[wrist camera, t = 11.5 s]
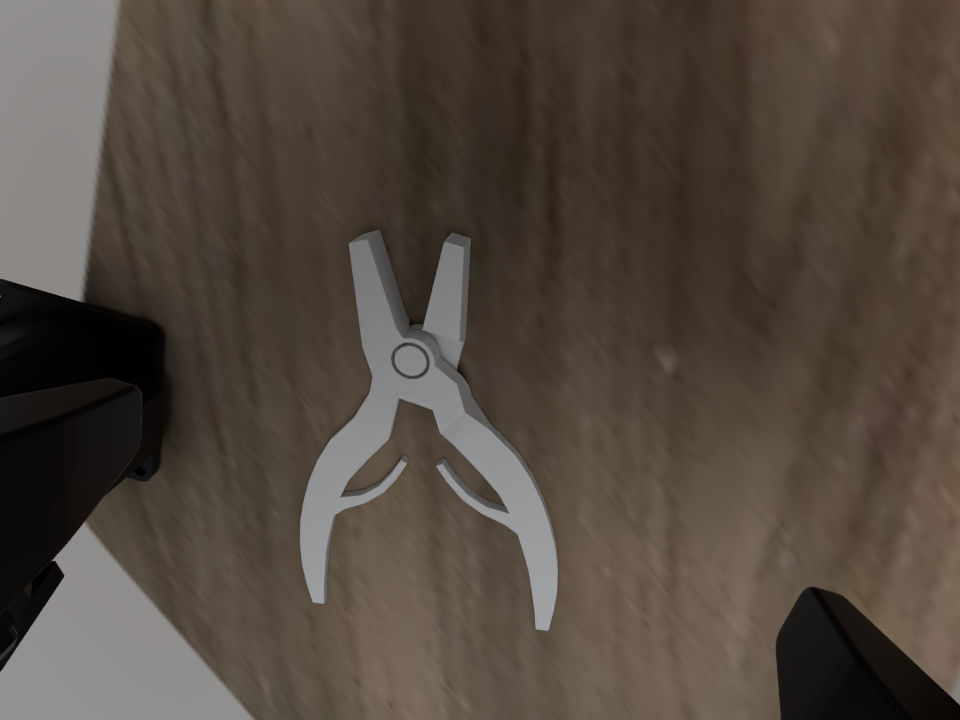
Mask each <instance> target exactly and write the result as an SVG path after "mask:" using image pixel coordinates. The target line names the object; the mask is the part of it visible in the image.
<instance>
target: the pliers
mask: <svg viewBox="0 0 960 720" xmlns="http://www.w3.org/2000/svg"><path fill="white" fill-rule="evenodd" d="M470 246H471V238H469V237H465V236H462V235H459V234H456V233H451V234H450V235H449V237H448V238H447V239H446V240H445V241H444V244H443V248H442V252H441V256H440V261H439V265H438V269H437V273H436V277H435V281H434V285H433V289H432V293H431V297H430V301H429V305H428V309H427V313H426V317H425V321H424V325H420V324H414V325H410V326H409V318H408V317H407V315H406V311H405V308H404V305H403V302H402V299H401V295H400V292H399V289H398V286H397V283H396V280H395V276H394V273H393V270H392V267H391V264H390V261H389V257H388V254H387V251H386V248H385V245H384V242H383V238H382V235H381V232H380V230H377V231H373V232H369V233H364V234H361V235H360V236H359V237H357V238H356V239H354V240H353V241H352V242H350V243H349V250H350V257H351V265H352V272H353V280H354V287H355V295H356V303H357V310H358V318H359V325H360V333H361V340H362V347H363V350H364V353H365V356H366V359H367V361H368V364H369V367H370V370H371V373H372V376H373V377H372V382H371V387H370V392H369V394H368V396H367V398H366V399H365V401H364V402H363V404H362V406H361V407H360V409H359V410H358V412H357V414H356V415H355V416H354V417H353V418H351V419H350V420H349V421H348V422H347V423H346V424H345V425H344V426H343V427H342V428H341V429H340V430H339V431H338V432H337V433H335V434H334V435H333V437H332V438H331V440H330V441H329V443H328V444H327V446H326V447H325V449H324V451H323V452H322V454H321V455H320V457H319V459H318V460H317V462H316V465H315V467H314V470H313V472H312V475H311V477H310V480H309V483H308V487H307V490H306V494H305V498H304V502H303V508H302V515H301V521H300V548H301V559H302V565H303V570H304V574H305V578H306V582H307V585H308V589H309V592H310V595H311V598H312V601H313V602H314V603H322V604H324V603H325V601H326V599H327V575H328V560H329V547H330V540H331V535H332V530H333V526H334V521H335V517H336V514H338V513H339V512H341V511H343V510H344V509H347V508H350V507H353V506H357V505H360V504H363V503H367V502H368V501H370V500H372V499H373V498H375V497H377V496H379V495H380V494H382V493H384V492H385V491H386V490H387V489H388V488H389V486H390V485H391V484H392V483H393V482H394V481H395V480H396V479H397V478H398V476H399V475H400V473H401V472H402V470H403V469H404V467H405V466H406V465H407V463H408V461H409V459H410V458H409V457H407V456H405V455H403V456H402V458H401V459H400V460H399V462H398V463H397V465H396V466H395V467H394V469H393V470H392V471H391V472H390V473H389V474H388V475H387V476H386V477H385V478H384V479H383V480H382V481H380V482H378V483H376V484H374V485H372V486H370V487H368V488H367V489H364V490H355V491H347V492H344V490H345V488H346V486H347V484H348V482H349V480H350V478H351V477H352V476H353V475H354V474H355V473H356V472H357V470H358V469H359V468H360V467H361V466H362V465H363V464H364V463H365V462H366V461H367V460H368V459H369V458H370V457H371V456H372V455H373V454H374V453H375V452H376V451H377V450H378V449H379V448H380V447H381V446H382V445H383V444H384V443H385V442H386V441H387V440H388V439H389V438H390V436H391V434H392V431H393V427H394V423H395V419H396V415H397V411H398V406H399V402H400V399H403V400H406V401H408V402H411V403H414V404H417V405H420V406H423V407H425V408H428V409H431V410H433V412H434V415H435V419H436V422H437V425H438V428H439V431H440V434H442V435H443V436H444V437H445V438H446V439H447V440H449V441H450V442H451V443H452V444H453V445H454V446H455V447H456V448H457V449H458V450H459V451H460V452H461V453H462V454H463V455H464V456H465V457H466V458H467V459H468V461H469V462H470V463H471V464H472V465H473V466H474V467H475V468H476V469H477V470H478V471H479V472H480V473H481V474H482V475H483V476H484V478H485V479H486V480H487V481H488V482H489V483H490V484H491V486H492V487H493V488H494V489H495V490H496V491H497V492H498V494H499V495H500V497H501V499H502V501H503V503H504V504H505V506H503V505H500V504H496V503H493V502H489V501H487V500H485V499H484V498H482V497H481V496H479V495H478V494H476V493H475V492H473V491H472V490H470V489H469V488H468V487H467V486H466V485H465V484H464V482H463V481H462V480H461V479H460V478H459V477H458V476H457V475H456V474H455V472H454V471H453V469H452V468H451V467H450V465H449V464H448V462H447V461H446V460H445V458H444V459H441V460H438V463H437V465H436V467H437V468H438V470H439V471H440V472H441V474H442V475H443V477H444V478H445V480H446V481H447V483H448V484H449V485H450V486H451V487H452V488H453V490H454V491H455V492H456V493H457V494H458V495H459V496H460V498H461V499H462V500H464V501H465V502H466V503H468V504H469V505H470V506H472V507H473V508H474V509H476V510H477V511H479V512H480V513H481V514H483V515H485V516H487V517H490V518H492V519H494V520H496V521H498V522H500V523H502V524H505V525H506V526H507V527H509V528H510V529H511V530H513V531H514V532H515V533H517V534H518V537H519V540H520V543H521V546H522V549H523V552H524V556H525V559H526V563H527V567H528V570H529V576H530V582H531V589H532V596H533V603H534V611H535V624H536V629H539V630H547V631H548V630H549V626H550V623H551V619H552V615H553V612H554V606H555V601H556V595H557V588H558V557H557V546H556V539H555V535H554V531H553V527H552V523H551V519H550V516H549V513H548V510H547V507H546V504H545V501H544V498H543V495H542V493H541V491H540V489H539V487H538V485H537V483H536V480H535V478H534V476H533V474H532V472H531V471H530V469H529V468H528V466H527V465H526V463H525V462H524V460H523V459H522V457H521V456H520V454H519V453H518V451H517V450H516V449H515V448H514V447H513V446H512V445H511V444H510V443H509V442H508V441H507V440H506V439H505V438H504V437H503V436H502V435H501V434H500V433H499V432H498V431H497V430H496V429H495V428H494V427H493V426H492V425H491V424H490V423H489V421H488V420H487V418H486V417H485V415H484V414H483V412H482V411H481V409H480V408H479V406H478V404H477V403H476V401H475V400H474V398H473V397H472V395H471V391H470V388H469V385H468V383H467V382H466V381H465V379H464V378H463V377H462V375H461V374H459V373H458V372H457V367H458V364H459V360H460V356H461V353H462V349H463V346H464V342H465V339H466V323H467V304H468V285H469V265H470Z"/></svg>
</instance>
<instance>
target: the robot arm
mask: <svg viewBox="0 0 960 720" xmlns="http://www.w3.org/2000/svg"><path fill="white" fill-rule="evenodd" d="M0 296H1V297H0V671H1V670H2V669H3V667H4V666H5V664H6V663H7V661H8V660H9V658H10V657H11V655H12V654H13V652H14V651H15V649H16V648H17V647H18V645H19V643H20V642H21V641H22V639H23V638H24V636H25V635H26V633H27V632H28V630H29V629H30V627H31V625H32V624H33V623H34V621H35V620H36V618H37V616H38V615H39V614H40V612H41V611H42V609H43V607H44V606H45V605H46V603H47V602H48V600H49V598H50V597H51V596H52V594H53V593H54V591H55V590H56V588H57V587H58V585H59V584H60V582H61V580H62V579H63V578H64V574H63V572H62V571H61V569H60V568H59V566H58V565H57V563H56V561H52V560H53V559H54V557H55V556H56V555H57V554H58V553H59V552H60V551H61V550H62V549H63V548H64V546H65V545H66V544H67V543H68V542H69V541H70V539H71V538H72V537H73V536H74V534H75V533H76V532H77V530H79V528H80V527H81V526H82V524H83V523H84V522H85V520H86V519H87V518H88V517H89V515H90V514H91V513H92V511H93V510H94V509H95V507H96V506H97V505H98V503H99V502H100V501H101V500H102V498H103V497H104V496H105V495H106V494H107V493H109V492H110V491H111V490H112V489H113V488H114V487H115V486H117V485H118V484H119V483H120V482H121V481H122V480H124V479H125V478H126V477H128V478H131V479H135V480H138V481H148V480H149V479H150V478H151V477H152V476H153V475H154V474H156V473H157V471H158V461H159V448H160V447H161V446H162V438H163V415H164V393H165V391H164V388H163V385H162V365H163V341H164V339H163V334H162V332H161V330H160V328H159V327H157V326H156V325H155V324H153V323H151V322H148V321H144V320H141V319H138V318H134V317H131V316H127V315H124V314H120V313H117V312H113V311H110V310H107V309H103V308H100V307H96V306H93V305H89V304H86V303H82V302H79V301H76V300H72V299H69V298H65V297H62V296H58V295H55V294H51V293H48V292H45V291H41V290H38V289H34V288H31V287H27V286H24V285H20V284H17V283H14V282H10V281H7V280H3V279H0ZM143 333H145V334H147V335H148V337H149V338H150V342H149V341H147V340H146V339H145V338H144V335H143ZM140 465H142V466H143V467H144V468H145V469H143V468H142V467H141V466H140ZM776 661H777V674H778V686H779V699H780V711H781V720H960V705H959V704H958V703H957V702H956V701H955V700H954V699H953V698H952V697H951V696H950V695H949V694H947V693H946V692H945V691H944V690H943V689H942V688H941V687H940V686H939V685H938V684H937V683H936V682H935V681H934V680H933V679H931V678H930V677H929V676H928V675H927V674H926V673H925V672H924V671H923V670H922V669H921V668H920V667H919V666H918V665H917V664H915V663H914V662H913V661H912V660H911V659H910V658H909V657H908V656H907V655H906V654H905V653H904V652H903V651H902V650H901V649H899V648H898V647H897V646H896V645H895V644H894V643H893V642H892V641H891V640H890V639H889V638H888V637H887V636H886V635H885V634H883V633H882V632H881V631H880V630H879V629H878V628H877V627H876V626H875V625H874V624H873V623H872V622H871V621H870V620H869V619H867V618H866V617H865V616H864V615H863V614H862V613H861V612H860V611H859V610H858V609H857V608H856V607H855V606H854V605H853V604H851V603H850V602H849V601H848V600H847V599H846V598H845V597H844V596H842V595H840V594H837V593H834V592H831V591H827V590H824V589H820V588H817V587H808V588H806V589H805V590H804V591H803V592H802V593H801V594H800V596H799V598H798V599H797V601H796V603H795V605H794V606H793V608H792V610H791V611H790V613H789V615H788V617H787V618H786V620H785V622H784V624H783V625H782V627H781V629H780V631H779V633H778V636H777V641H776Z"/></svg>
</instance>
